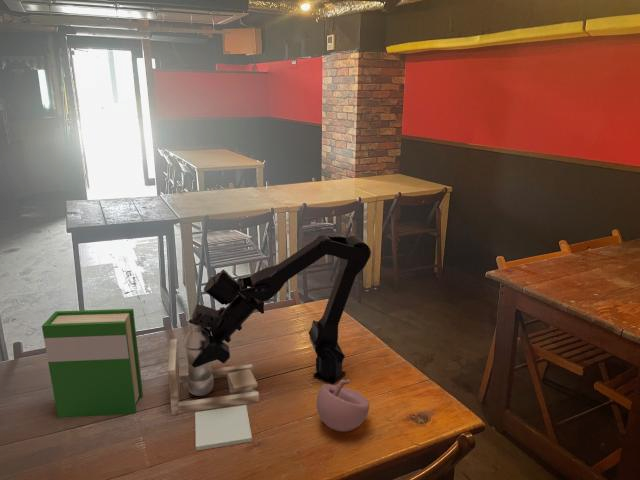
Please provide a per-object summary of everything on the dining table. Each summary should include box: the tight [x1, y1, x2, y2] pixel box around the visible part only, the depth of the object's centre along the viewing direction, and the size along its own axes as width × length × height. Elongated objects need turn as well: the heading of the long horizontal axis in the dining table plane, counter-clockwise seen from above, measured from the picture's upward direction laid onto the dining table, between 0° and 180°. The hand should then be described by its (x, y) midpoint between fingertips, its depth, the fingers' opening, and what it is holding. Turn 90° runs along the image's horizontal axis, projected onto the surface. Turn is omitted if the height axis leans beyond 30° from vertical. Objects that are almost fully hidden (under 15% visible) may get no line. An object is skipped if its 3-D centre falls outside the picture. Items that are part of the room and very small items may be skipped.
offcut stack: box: [226, 369, 258, 395], centre depth 127 cm, size 7×8×3 cm
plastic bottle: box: [183, 318, 215, 397], centre depth 122 cm, size 6×7×20 cm
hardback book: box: [41, 308, 144, 419], centre depth 116 cm, size 18×7×24 cm, turn 96°
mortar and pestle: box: [316, 378, 370, 432], centre depth 112 cm, size 12×12×12 cm
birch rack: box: [167, 338, 260, 416], centre depth 124 cm, size 21×15×12 cm
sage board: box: [194, 404, 253, 452], centre depth 112 cm, size 12×12×1 cm
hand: (193, 359), depth 122 cm, fingers closed on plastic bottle, 6 cm apart
